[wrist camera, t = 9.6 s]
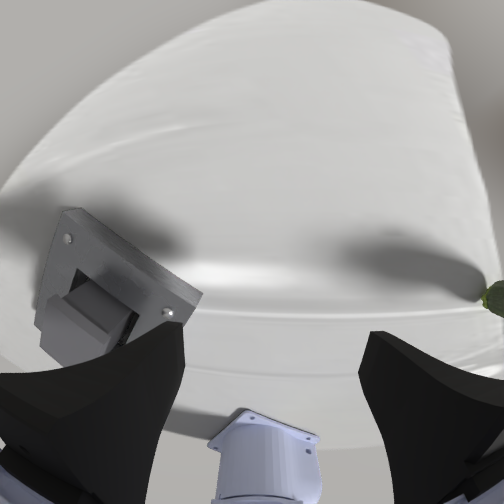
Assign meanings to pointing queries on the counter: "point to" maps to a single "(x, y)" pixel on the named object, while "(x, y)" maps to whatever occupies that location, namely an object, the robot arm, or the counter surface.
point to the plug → (83, 324)
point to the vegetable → (495, 298)
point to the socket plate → (113, 274)
